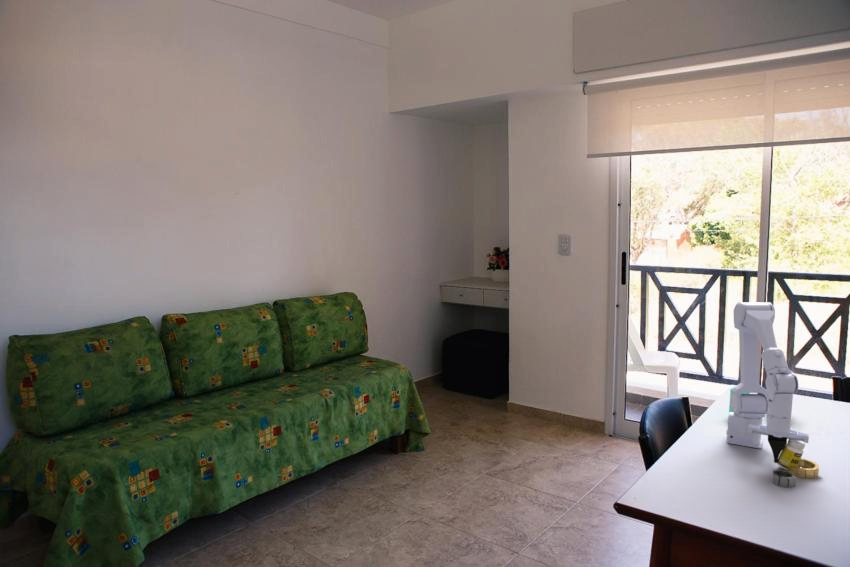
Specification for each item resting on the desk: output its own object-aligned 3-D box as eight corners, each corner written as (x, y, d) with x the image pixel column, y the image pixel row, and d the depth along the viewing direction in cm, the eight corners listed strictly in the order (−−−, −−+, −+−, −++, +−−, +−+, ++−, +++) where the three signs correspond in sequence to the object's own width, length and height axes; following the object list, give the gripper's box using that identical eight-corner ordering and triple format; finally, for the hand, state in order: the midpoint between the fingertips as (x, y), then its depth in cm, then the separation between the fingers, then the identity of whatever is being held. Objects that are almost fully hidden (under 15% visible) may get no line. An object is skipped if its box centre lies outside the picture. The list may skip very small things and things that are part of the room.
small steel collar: (772, 484, 160) (772, 475, 160) (772, 477, 165) (773, 468, 164) (794, 489, 158) (795, 480, 157) (794, 481, 162) (795, 472, 162)
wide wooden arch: (787, 475, 166) (787, 466, 166) (787, 464, 173) (787, 455, 172) (818, 481, 162) (819, 472, 162) (817, 469, 169) (818, 461, 169)
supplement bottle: (788, 472, 166) (800, 446, 164) (772, 462, 170) (784, 436, 168) (798, 471, 169) (810, 445, 166) (782, 461, 173) (794, 435, 170)
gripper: (748, 414, 169) (745, 461, 171) (810, 424, 162) (806, 472, 163) (750, 407, 175) (747, 452, 177) (809, 416, 168) (805, 463, 169)
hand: (775, 461), depth 171 cm, fingers closed, pressing on supplement bottle
